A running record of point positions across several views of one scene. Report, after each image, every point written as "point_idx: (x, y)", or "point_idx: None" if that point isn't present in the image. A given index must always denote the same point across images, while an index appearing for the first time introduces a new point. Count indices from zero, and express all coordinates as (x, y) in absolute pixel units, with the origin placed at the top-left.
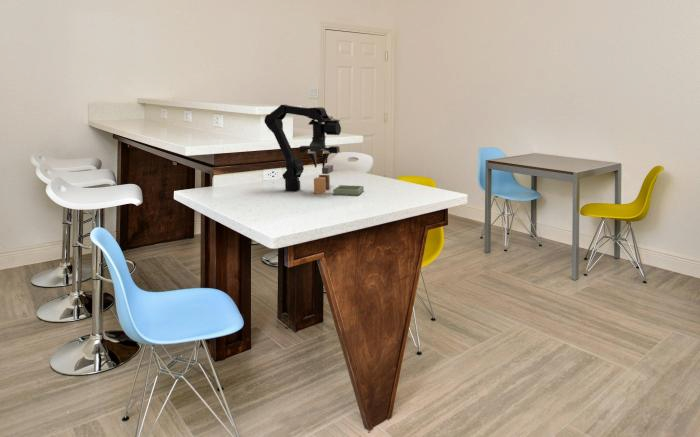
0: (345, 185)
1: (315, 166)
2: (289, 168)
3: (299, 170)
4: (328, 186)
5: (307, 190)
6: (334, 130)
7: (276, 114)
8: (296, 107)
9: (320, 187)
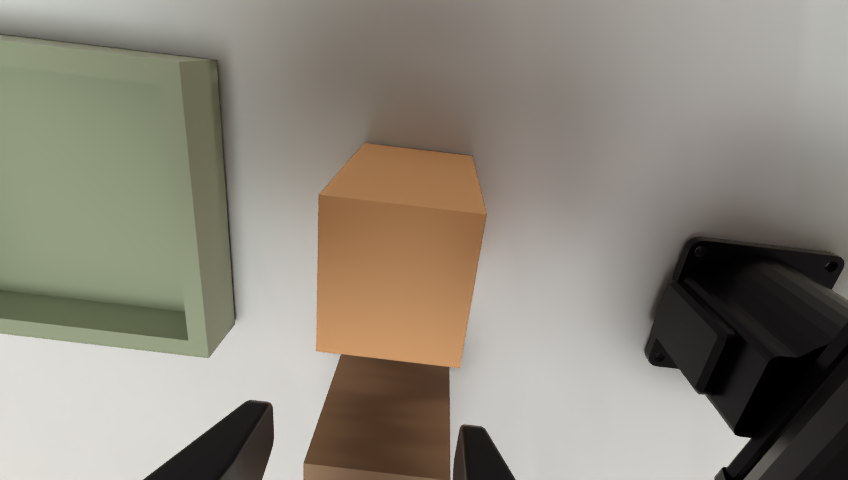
0: (137, 343)
1: (473, 442)
2: None
3: (836, 455)
4: (342, 360)
5: (567, 324)
6: None
7: None
8: None
9: (384, 164)
